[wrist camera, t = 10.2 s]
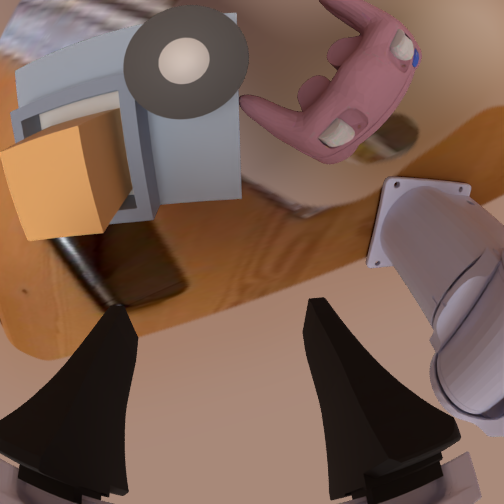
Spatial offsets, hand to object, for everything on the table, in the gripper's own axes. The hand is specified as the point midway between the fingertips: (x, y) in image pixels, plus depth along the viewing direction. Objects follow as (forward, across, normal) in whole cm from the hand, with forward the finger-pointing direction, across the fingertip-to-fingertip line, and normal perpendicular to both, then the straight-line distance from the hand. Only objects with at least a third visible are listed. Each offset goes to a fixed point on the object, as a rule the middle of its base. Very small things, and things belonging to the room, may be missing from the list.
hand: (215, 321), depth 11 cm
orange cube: (+8, +8, -5) cm, 12 cm away
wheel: (+8, +1, -9) cm, 12 cm away
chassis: (+10, +6, -7) cm, 13 cm away
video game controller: (+10, -6, -9) cm, 15 cm away
